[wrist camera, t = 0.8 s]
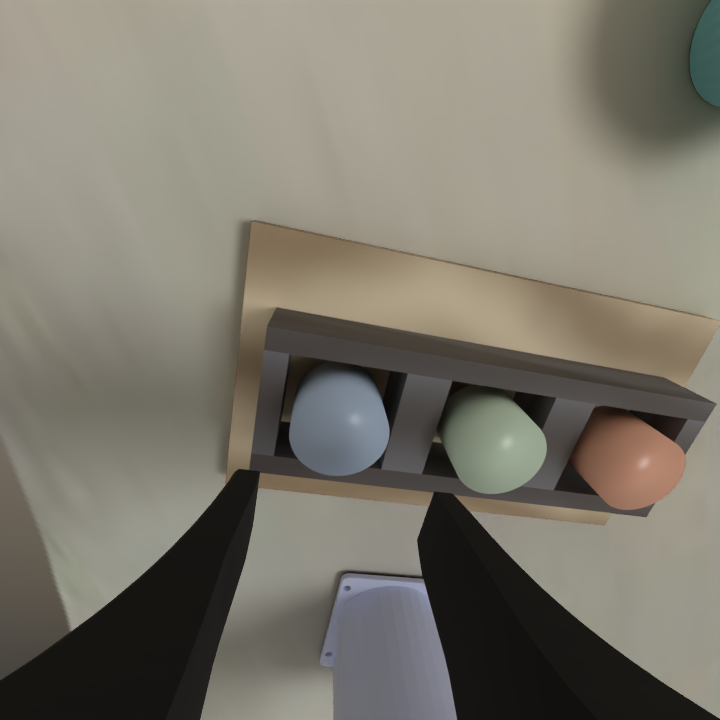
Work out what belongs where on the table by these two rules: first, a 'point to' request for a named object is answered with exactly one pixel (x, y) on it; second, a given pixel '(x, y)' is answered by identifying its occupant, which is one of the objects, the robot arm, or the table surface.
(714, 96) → the cupcake
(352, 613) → the robot arm
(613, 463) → the terracotta button
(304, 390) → the slate button
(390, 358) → the button panel
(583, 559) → the table surface
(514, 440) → the sage button
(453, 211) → the table surface
